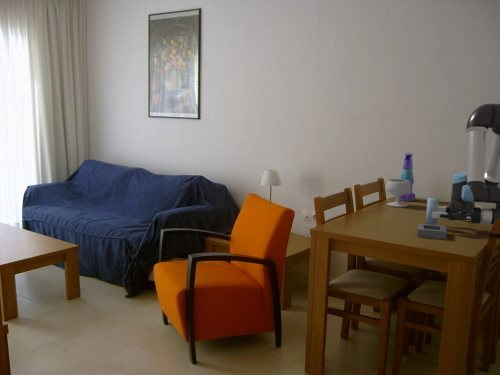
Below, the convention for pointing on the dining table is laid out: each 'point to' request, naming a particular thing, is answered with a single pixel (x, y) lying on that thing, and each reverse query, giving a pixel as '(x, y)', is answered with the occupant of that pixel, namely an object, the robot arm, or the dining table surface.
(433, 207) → the peg
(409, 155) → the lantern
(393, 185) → the chalice
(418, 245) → the dining table surface
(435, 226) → the socket block
